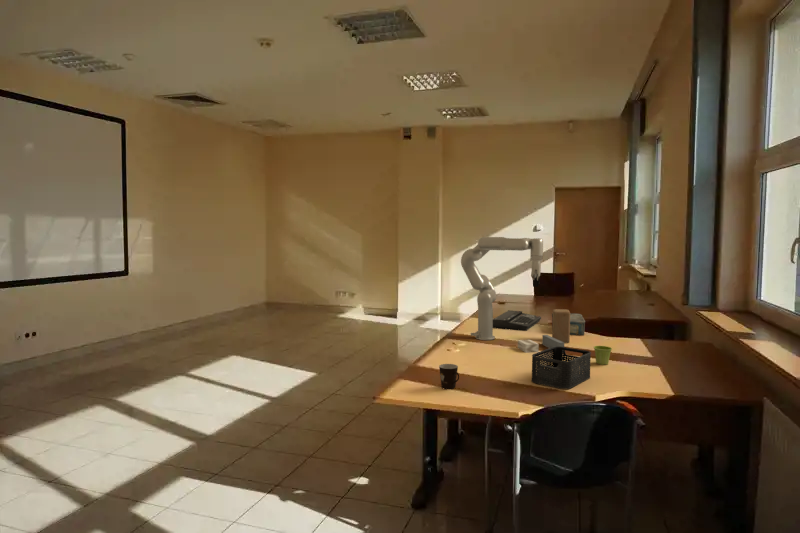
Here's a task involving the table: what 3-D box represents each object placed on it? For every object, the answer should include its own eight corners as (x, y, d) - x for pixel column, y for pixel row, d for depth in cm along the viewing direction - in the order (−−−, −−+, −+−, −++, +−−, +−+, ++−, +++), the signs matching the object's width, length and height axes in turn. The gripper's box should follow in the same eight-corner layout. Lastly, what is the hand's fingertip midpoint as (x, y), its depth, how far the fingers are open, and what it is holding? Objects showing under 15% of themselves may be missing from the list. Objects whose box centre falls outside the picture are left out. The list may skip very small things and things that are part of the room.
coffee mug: (437, 384, 255) (437, 364, 254) (455, 384, 256) (455, 363, 255) (441, 392, 244) (441, 370, 243) (460, 392, 244) (460, 370, 243)
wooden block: (569, 343, 340) (570, 311, 338) (553, 342, 342) (553, 311, 340) (568, 339, 350) (568, 309, 348) (551, 339, 352) (552, 308, 350)
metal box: (552, 335, 366) (552, 320, 366) (551, 325, 398) (551, 312, 397) (585, 336, 361) (585, 321, 360) (581, 327, 393) (581, 313, 392)
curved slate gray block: (559, 353, 315) (559, 342, 315) (542, 344, 337) (542, 335, 336) (564, 352, 316) (564, 342, 315) (546, 344, 337) (546, 334, 337)
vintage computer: (529, 331, 377) (529, 319, 376) (488, 328, 389) (488, 317, 389) (541, 322, 415) (541, 311, 415) (504, 320, 428) (504, 310, 427)
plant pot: (612, 362, 294) (612, 346, 294) (611, 366, 286) (611, 350, 285) (594, 360, 298) (594, 345, 298) (592, 364, 290) (592, 348, 289)
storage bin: (555, 370, 280) (556, 344, 279) (592, 377, 267) (593, 350, 266) (528, 382, 258) (529, 355, 257) (567, 391, 246) (568, 362, 244)
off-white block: (525, 353, 317) (525, 344, 316) (517, 348, 328) (517, 340, 328) (538, 352, 318) (538, 344, 318) (530, 347, 330) (530, 339, 329)
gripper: (531, 257, 346) (531, 284, 347) (529, 259, 329) (528, 287, 331) (543, 257, 343) (543, 284, 345) (541, 259, 327) (541, 287, 328)
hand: (536, 285), depth 338 cm, fingers open, 9 cm apart
